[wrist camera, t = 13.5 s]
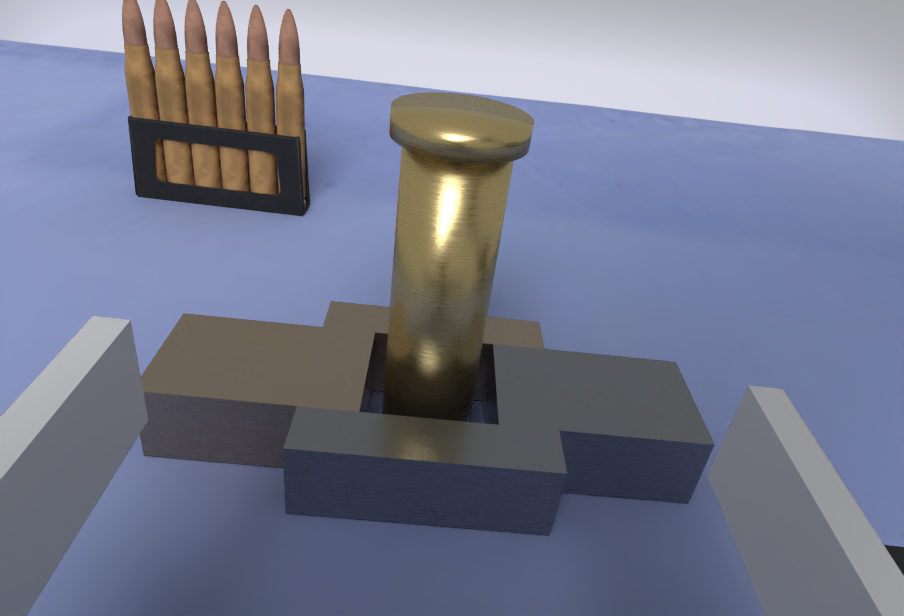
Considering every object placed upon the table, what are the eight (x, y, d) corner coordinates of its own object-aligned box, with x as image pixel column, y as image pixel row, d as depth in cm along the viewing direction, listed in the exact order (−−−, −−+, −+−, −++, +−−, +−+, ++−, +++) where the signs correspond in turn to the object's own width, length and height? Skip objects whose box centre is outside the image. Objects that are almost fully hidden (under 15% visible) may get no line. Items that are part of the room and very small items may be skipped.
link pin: (474, 405, 28) (527, 102, 21) (477, 479, 24) (541, 142, 17) (376, 395, 27) (397, 86, 21) (363, 469, 24) (384, 124, 17)
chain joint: (644, 387, 30) (662, 334, 28) (705, 548, 22) (734, 488, 21) (207, 345, 29) (200, 288, 27) (119, 499, 22) (103, 432, 20)
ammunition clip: (135, 196, 41) (102, -12, 35) (148, 185, 43) (118, -16, 36) (303, 216, 41) (301, 13, 35) (310, 205, 43) (309, 9, 37)
